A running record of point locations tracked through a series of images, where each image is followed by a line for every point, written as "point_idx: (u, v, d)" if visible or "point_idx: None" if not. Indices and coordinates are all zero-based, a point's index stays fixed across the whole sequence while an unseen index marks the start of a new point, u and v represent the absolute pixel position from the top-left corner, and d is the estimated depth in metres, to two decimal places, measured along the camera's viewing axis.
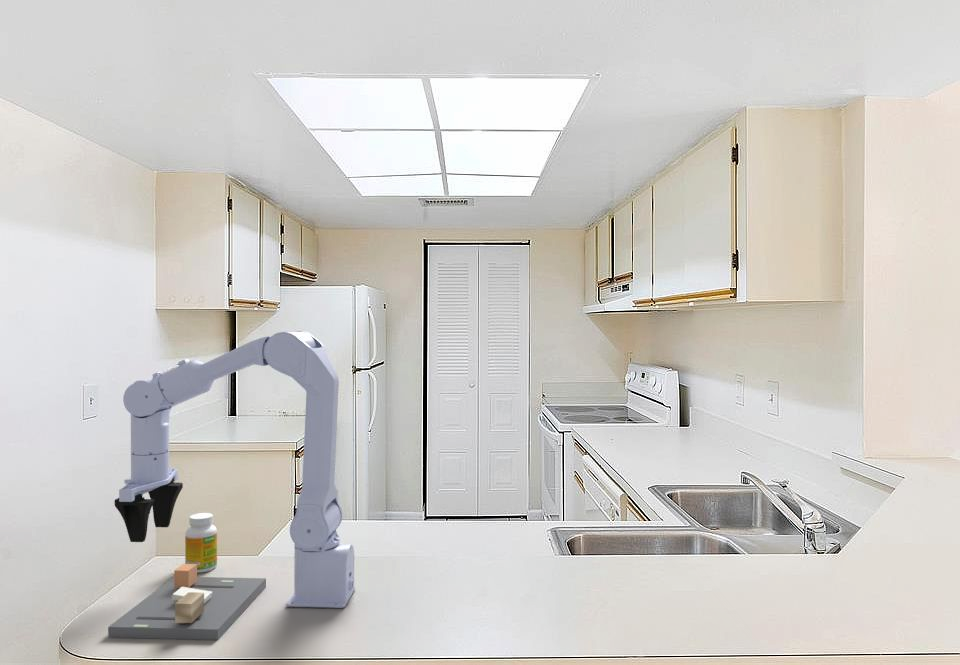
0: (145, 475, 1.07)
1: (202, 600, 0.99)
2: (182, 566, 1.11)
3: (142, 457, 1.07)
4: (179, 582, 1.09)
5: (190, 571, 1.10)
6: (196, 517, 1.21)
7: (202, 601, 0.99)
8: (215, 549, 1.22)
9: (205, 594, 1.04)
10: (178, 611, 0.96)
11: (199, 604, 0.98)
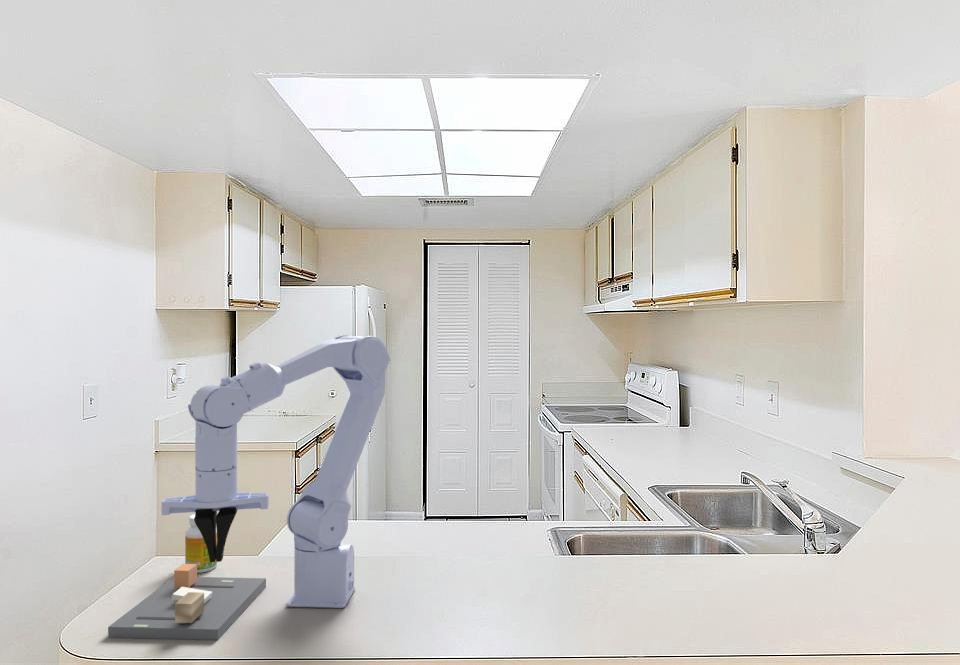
0: (195, 491, 0.96)
1: (202, 600, 0.99)
2: (182, 566, 1.11)
3: None
4: (179, 582, 1.09)
5: (190, 571, 1.10)
6: None
7: (202, 601, 0.99)
8: None
9: (205, 594, 1.04)
10: (178, 611, 0.96)
11: (199, 604, 0.98)
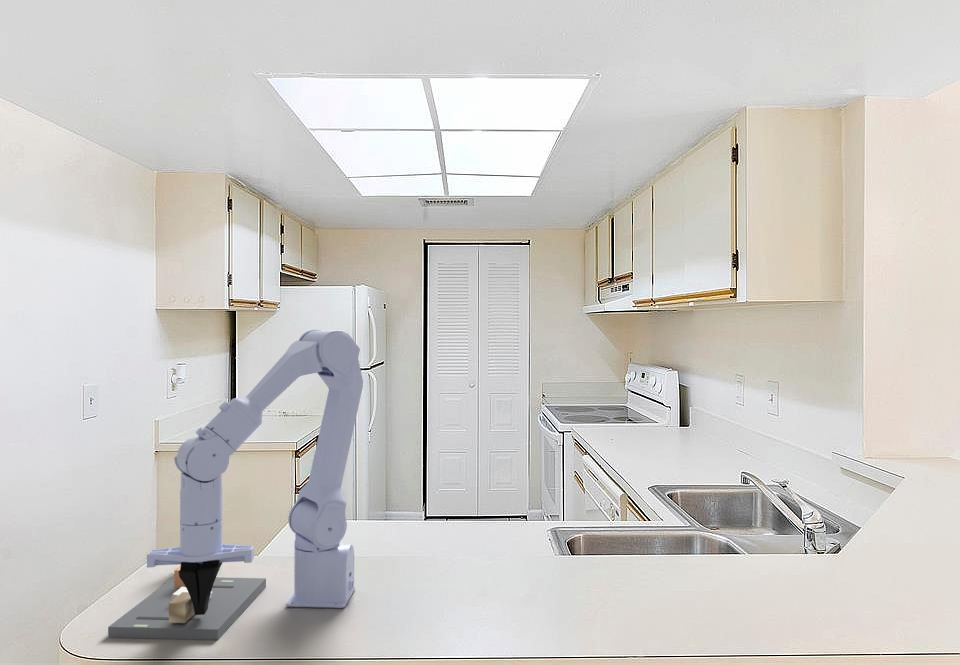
0: (180, 544, 0.97)
1: None
2: None
3: None
4: (179, 582, 1.09)
5: None
6: None
7: None
8: None
9: None
10: (172, 611, 0.96)
11: None
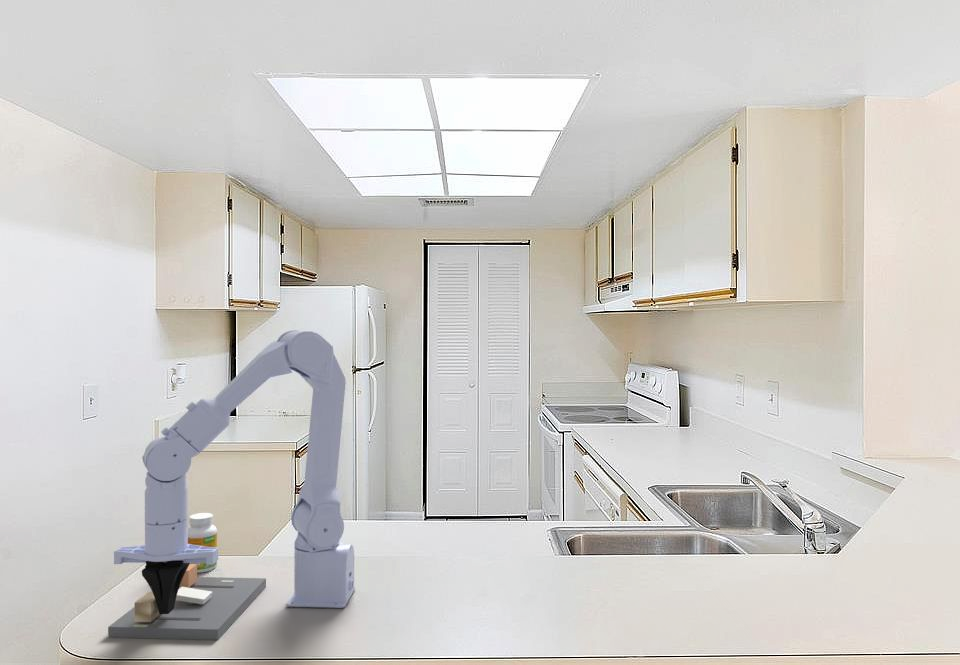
0: None
1: None
2: None
3: None
4: None
5: (190, 571, 1.10)
6: (196, 517, 1.21)
7: None
8: None
9: (205, 594, 1.04)
10: (137, 610, 0.96)
11: None
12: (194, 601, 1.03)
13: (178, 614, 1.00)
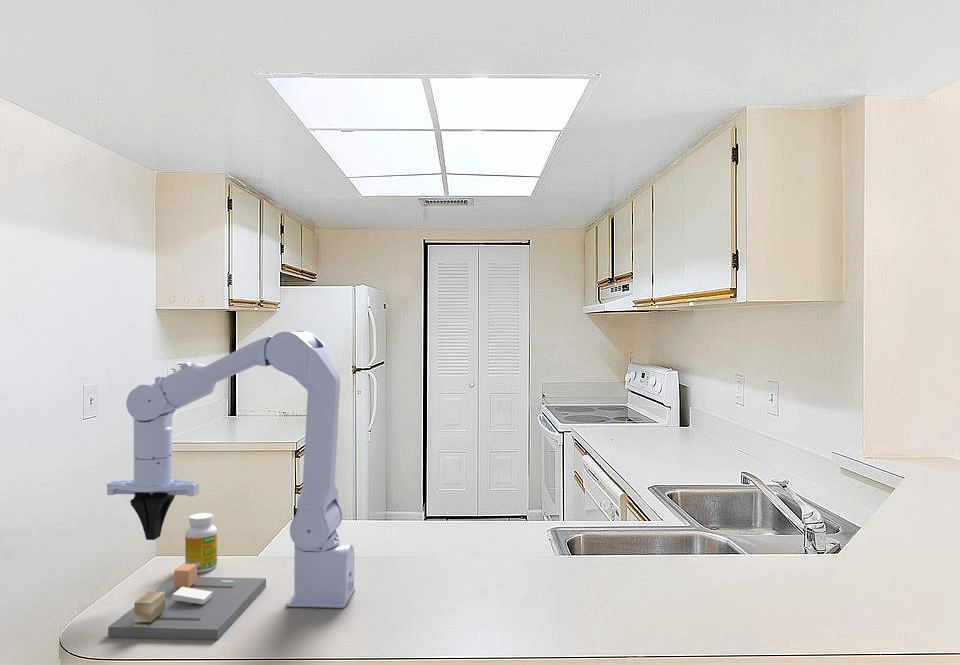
0: None
1: (163, 599, 1.00)
2: (182, 566, 1.11)
3: None
4: (179, 582, 1.09)
5: (190, 571, 1.10)
6: (196, 517, 1.21)
7: (163, 600, 1.00)
8: (215, 549, 1.22)
9: (205, 594, 1.04)
10: (137, 610, 0.96)
11: (159, 603, 0.99)
12: (194, 601, 1.03)
13: (178, 614, 1.00)
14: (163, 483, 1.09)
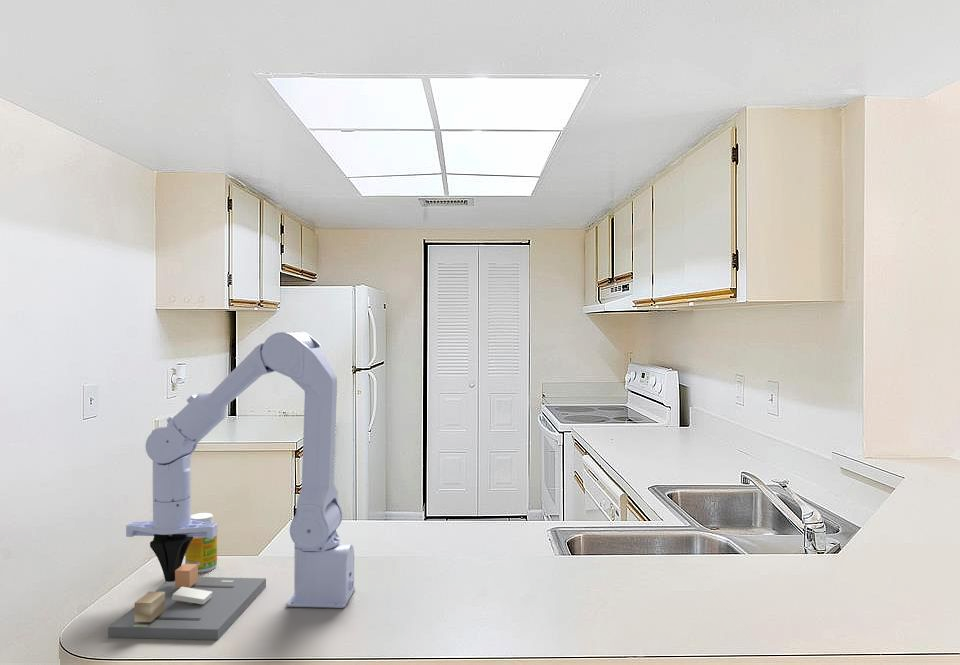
0: None
1: (163, 599, 1.00)
2: (183, 566, 1.11)
3: None
4: (180, 582, 1.09)
5: (191, 571, 1.09)
6: (196, 517, 1.21)
7: (163, 600, 1.00)
8: (215, 549, 1.22)
9: (205, 594, 1.04)
10: (137, 610, 0.96)
11: (159, 603, 0.99)
12: (194, 601, 1.03)
13: (178, 614, 1.00)
14: (182, 525, 1.09)
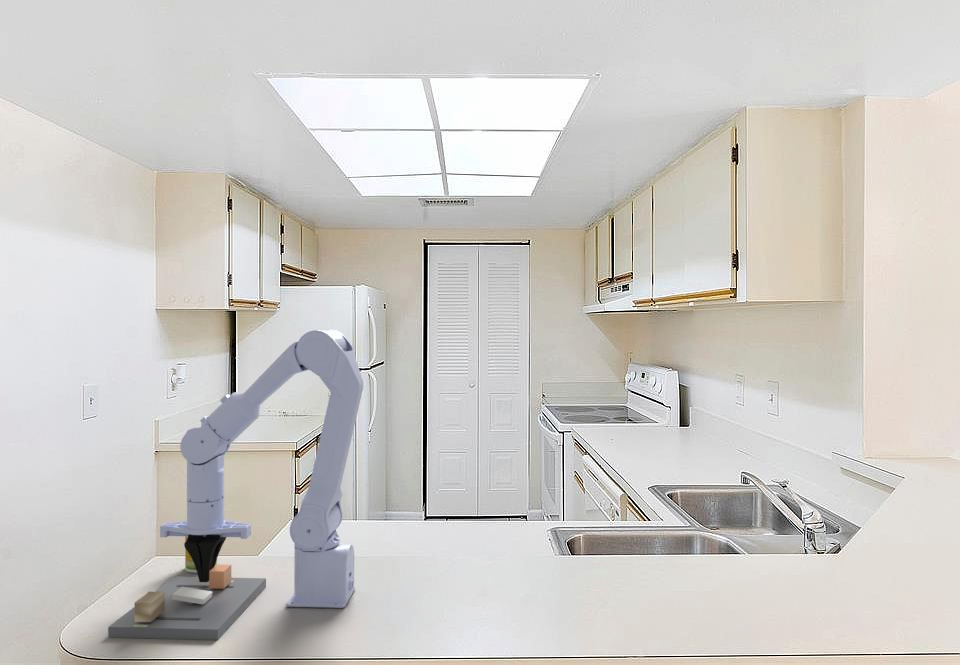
0: None
1: (163, 599, 1.00)
2: (217, 567, 1.10)
3: None
4: (214, 583, 1.09)
5: (225, 571, 1.09)
6: None
7: (163, 600, 1.00)
8: None
9: (205, 594, 1.04)
10: (137, 610, 0.96)
11: (159, 603, 0.99)
12: (194, 601, 1.03)
13: (178, 614, 1.00)
14: (216, 525, 1.09)
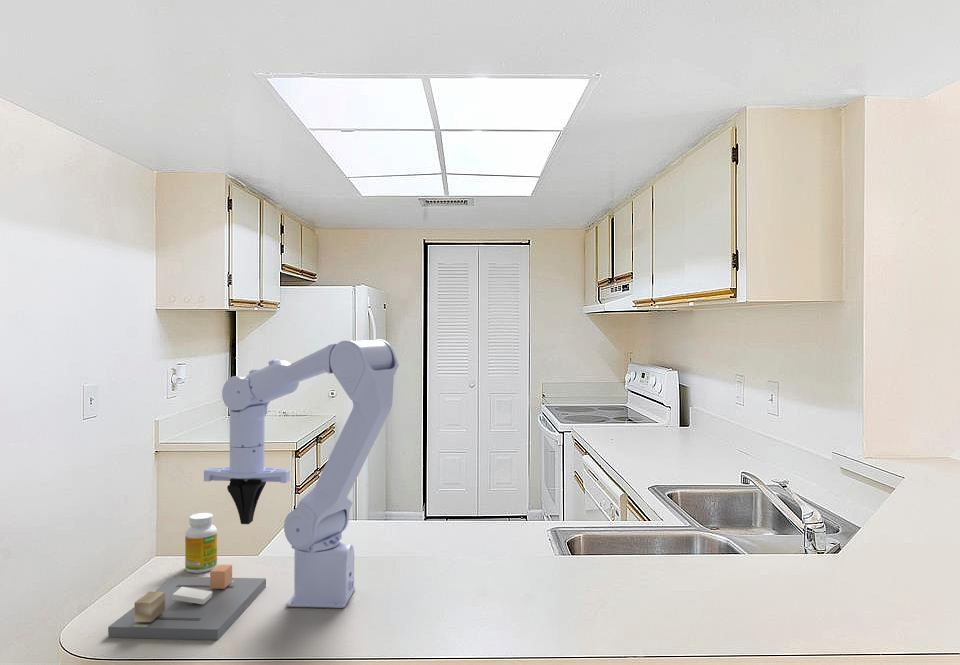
0: None
1: (163, 599, 1.00)
2: (217, 567, 1.10)
3: None
4: (215, 583, 1.09)
5: (226, 571, 1.09)
6: (196, 517, 1.21)
7: (163, 600, 1.00)
8: (215, 549, 1.22)
9: (205, 594, 1.04)
10: (137, 610, 0.96)
11: (159, 603, 0.99)
12: (194, 601, 1.03)
13: (178, 614, 1.00)
14: (258, 470, 1.14)
